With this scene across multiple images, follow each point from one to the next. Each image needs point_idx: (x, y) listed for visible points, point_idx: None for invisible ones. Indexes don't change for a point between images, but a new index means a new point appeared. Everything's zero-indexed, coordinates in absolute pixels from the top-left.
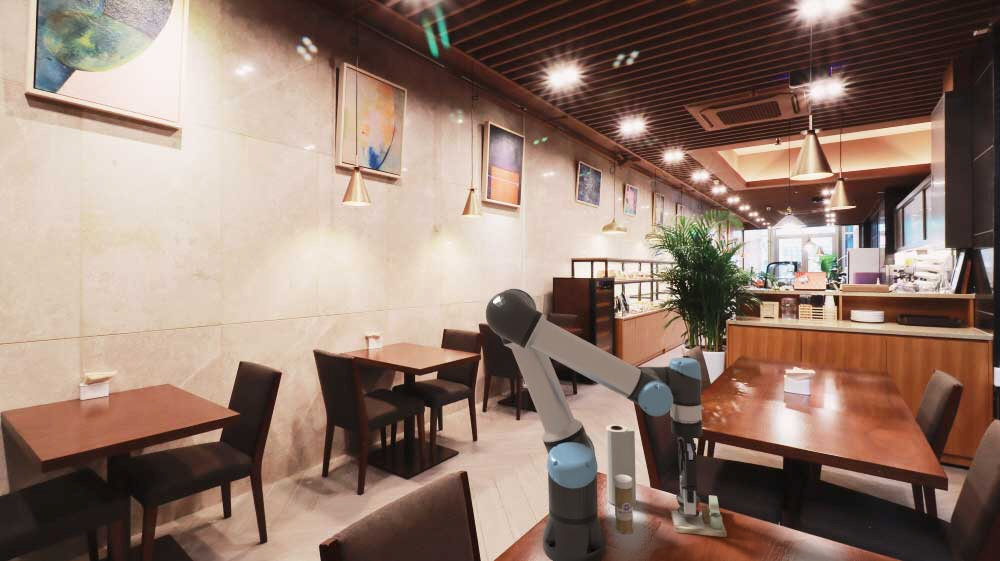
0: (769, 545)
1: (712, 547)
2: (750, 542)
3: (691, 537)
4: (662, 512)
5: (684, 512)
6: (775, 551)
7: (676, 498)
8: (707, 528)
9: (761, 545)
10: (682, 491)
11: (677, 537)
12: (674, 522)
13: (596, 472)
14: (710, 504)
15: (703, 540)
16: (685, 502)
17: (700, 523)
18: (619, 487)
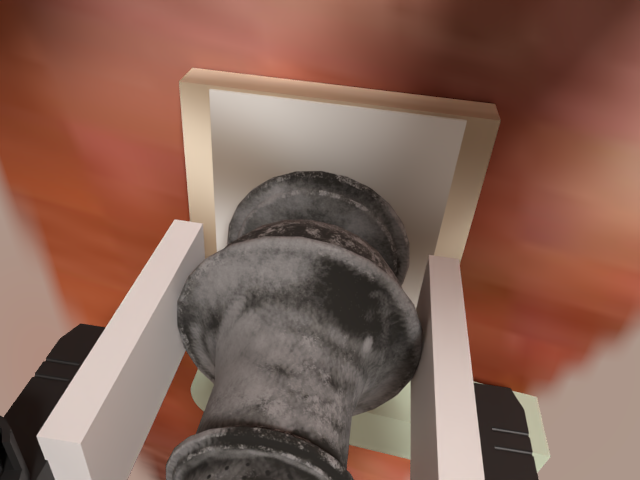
0: None
1: (79, 249)
2: (190, 412)
3: (153, 165)
4: (526, 28)
5: (172, 226)
6: (145, 457)
7: (284, 239)
8: None
9: (177, 436)
10: (252, 361)
11: (122, 66)
12: (254, 95)
13: None
14: (397, 421)
15: (139, 225)
16: (128, 302)
17: None
18: None
